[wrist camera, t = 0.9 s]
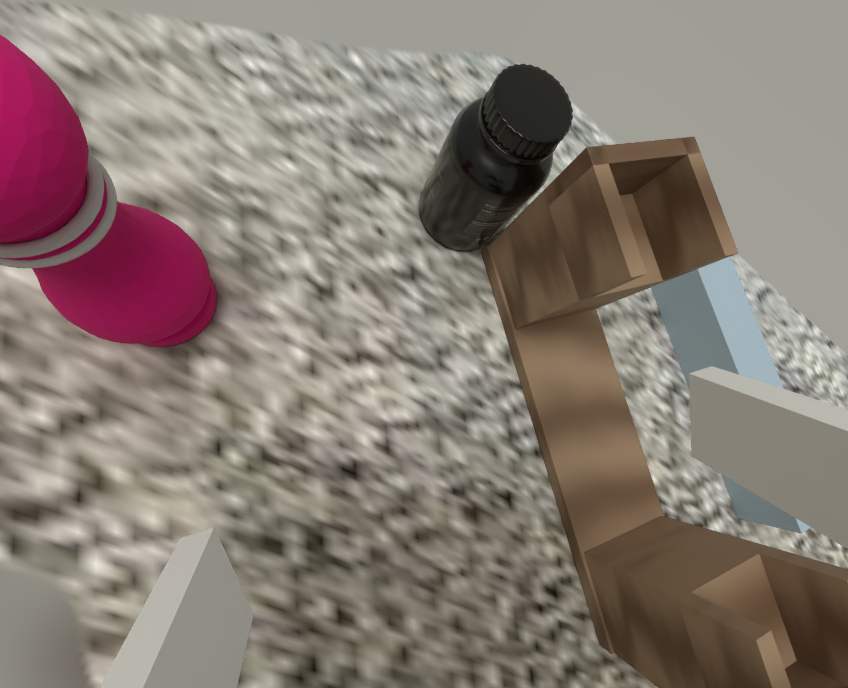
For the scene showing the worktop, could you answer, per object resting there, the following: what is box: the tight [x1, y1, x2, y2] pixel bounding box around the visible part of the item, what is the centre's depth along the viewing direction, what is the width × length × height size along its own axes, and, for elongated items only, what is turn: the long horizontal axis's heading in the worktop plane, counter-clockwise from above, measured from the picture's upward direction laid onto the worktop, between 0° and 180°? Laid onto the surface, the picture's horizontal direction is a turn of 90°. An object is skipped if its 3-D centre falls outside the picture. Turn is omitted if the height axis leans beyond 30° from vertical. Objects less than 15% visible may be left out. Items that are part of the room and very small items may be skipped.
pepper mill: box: [0, 35, 217, 347], centre depth 16 cm, size 7×7×20 cm
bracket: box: [481, 137, 848, 688], centre depth 25 cm, size 31×8×13 cm, turn 16°
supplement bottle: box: [420, 64, 573, 250], centre depth 26 cm, size 7×7×12 cm
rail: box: [651, 256, 811, 533], centre depth 34 cm, size 24×4×5 cm, turn 18°
